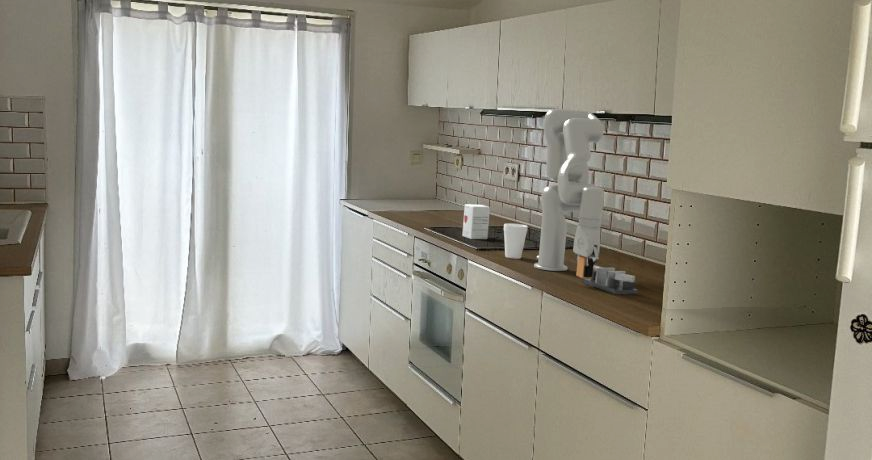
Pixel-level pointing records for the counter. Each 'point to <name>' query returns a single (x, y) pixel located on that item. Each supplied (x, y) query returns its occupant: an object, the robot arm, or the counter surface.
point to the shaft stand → (611, 281)
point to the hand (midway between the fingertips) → (584, 274)
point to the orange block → (581, 266)
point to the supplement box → (476, 221)
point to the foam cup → (514, 239)
